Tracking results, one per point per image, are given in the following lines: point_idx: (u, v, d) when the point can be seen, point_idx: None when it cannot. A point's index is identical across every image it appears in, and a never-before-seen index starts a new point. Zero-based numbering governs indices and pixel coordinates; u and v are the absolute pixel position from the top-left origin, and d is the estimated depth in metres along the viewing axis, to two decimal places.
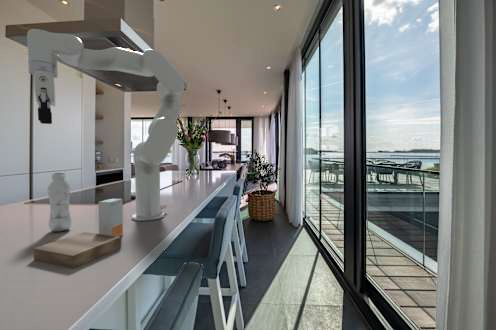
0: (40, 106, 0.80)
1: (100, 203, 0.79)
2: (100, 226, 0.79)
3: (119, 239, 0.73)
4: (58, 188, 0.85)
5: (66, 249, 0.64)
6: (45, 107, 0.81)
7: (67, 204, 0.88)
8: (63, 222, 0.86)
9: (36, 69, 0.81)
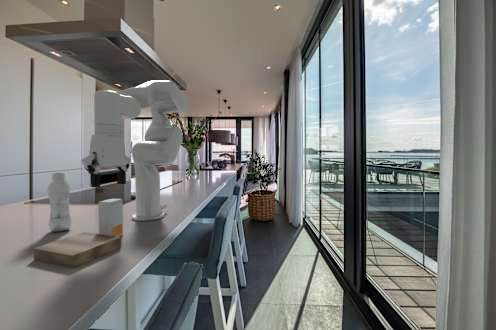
0: None
1: (100, 203, 0.79)
2: (100, 226, 0.79)
3: (119, 239, 0.73)
4: (58, 188, 0.85)
5: (66, 249, 0.64)
6: None
7: (67, 204, 0.88)
8: (63, 222, 0.86)
9: None
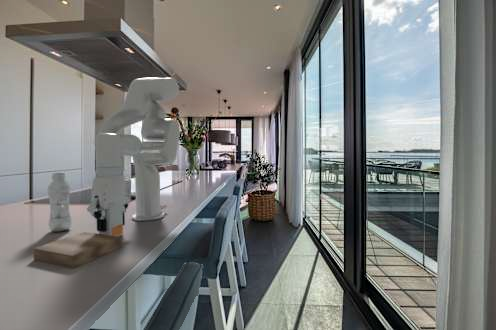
0: None
1: None
2: None
3: (119, 239, 0.73)
4: (58, 188, 0.85)
5: (66, 249, 0.64)
6: None
7: (67, 204, 0.88)
8: (63, 222, 0.86)
9: None
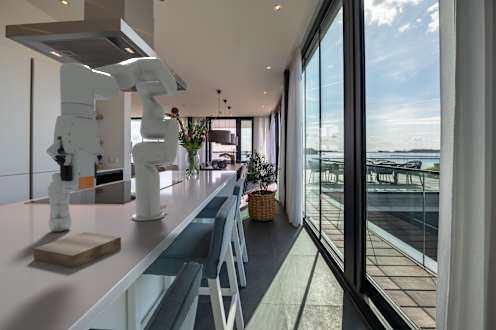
0: None
1: None
2: None
3: (119, 239, 0.73)
4: (58, 188, 0.85)
5: (66, 249, 0.64)
6: None
7: (67, 204, 0.88)
8: (63, 222, 0.86)
9: None
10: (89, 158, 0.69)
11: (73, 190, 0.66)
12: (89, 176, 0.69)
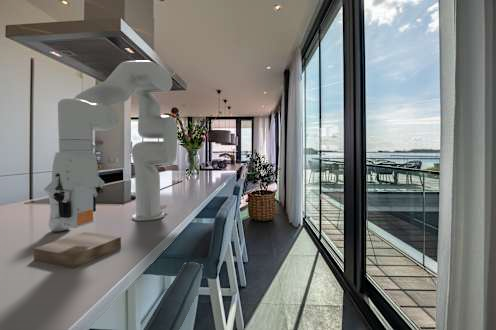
0: None
1: None
2: None
3: (119, 239, 0.73)
4: None
5: (66, 249, 0.64)
6: None
7: None
8: None
9: None
10: (88, 192, 0.69)
11: (72, 226, 0.65)
12: (88, 210, 0.69)
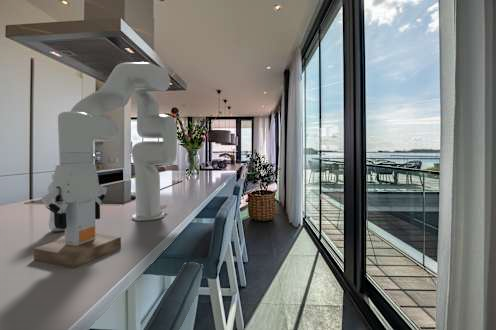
0: None
1: None
2: (66, 229, 0.66)
3: (119, 239, 0.73)
4: None
5: (66, 249, 0.64)
6: None
7: None
8: None
9: None
10: (90, 209, 0.69)
11: (74, 244, 0.66)
12: (90, 227, 0.70)
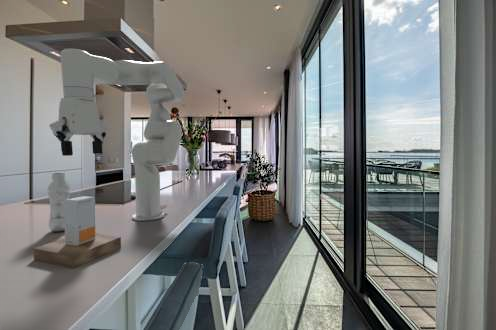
0: None
1: (66, 201, 0.66)
2: (66, 229, 0.66)
3: (119, 239, 0.73)
4: (58, 188, 0.85)
5: (66, 249, 0.64)
6: None
7: None
8: (63, 222, 0.86)
9: None
10: (90, 209, 0.69)
11: (74, 244, 0.66)
12: (90, 227, 0.70)
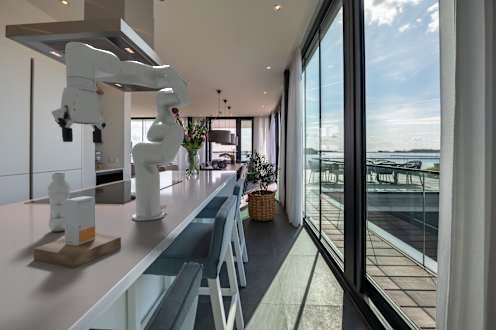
0: None
1: (66, 201, 0.66)
2: (66, 229, 0.66)
3: (119, 239, 0.73)
4: (58, 188, 0.85)
5: (66, 249, 0.64)
6: None
7: None
8: (63, 222, 0.86)
9: None
10: (90, 209, 0.69)
11: (74, 244, 0.66)
12: (90, 227, 0.70)
